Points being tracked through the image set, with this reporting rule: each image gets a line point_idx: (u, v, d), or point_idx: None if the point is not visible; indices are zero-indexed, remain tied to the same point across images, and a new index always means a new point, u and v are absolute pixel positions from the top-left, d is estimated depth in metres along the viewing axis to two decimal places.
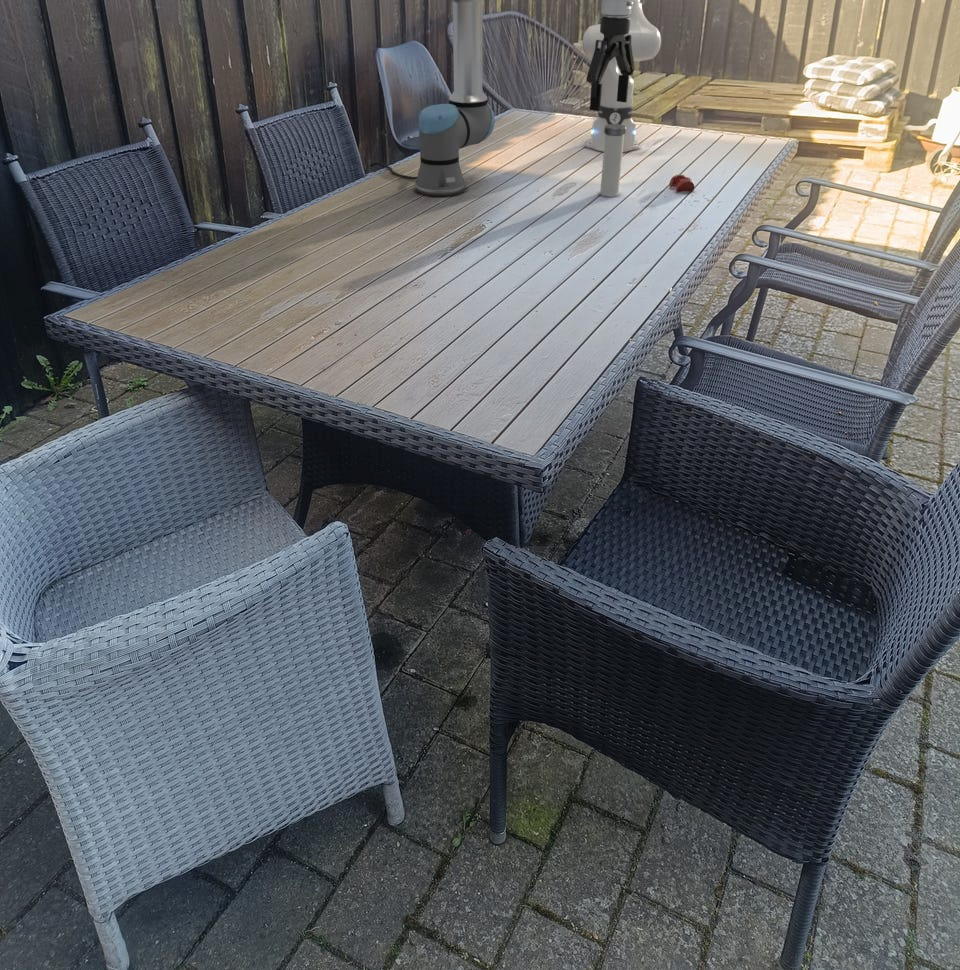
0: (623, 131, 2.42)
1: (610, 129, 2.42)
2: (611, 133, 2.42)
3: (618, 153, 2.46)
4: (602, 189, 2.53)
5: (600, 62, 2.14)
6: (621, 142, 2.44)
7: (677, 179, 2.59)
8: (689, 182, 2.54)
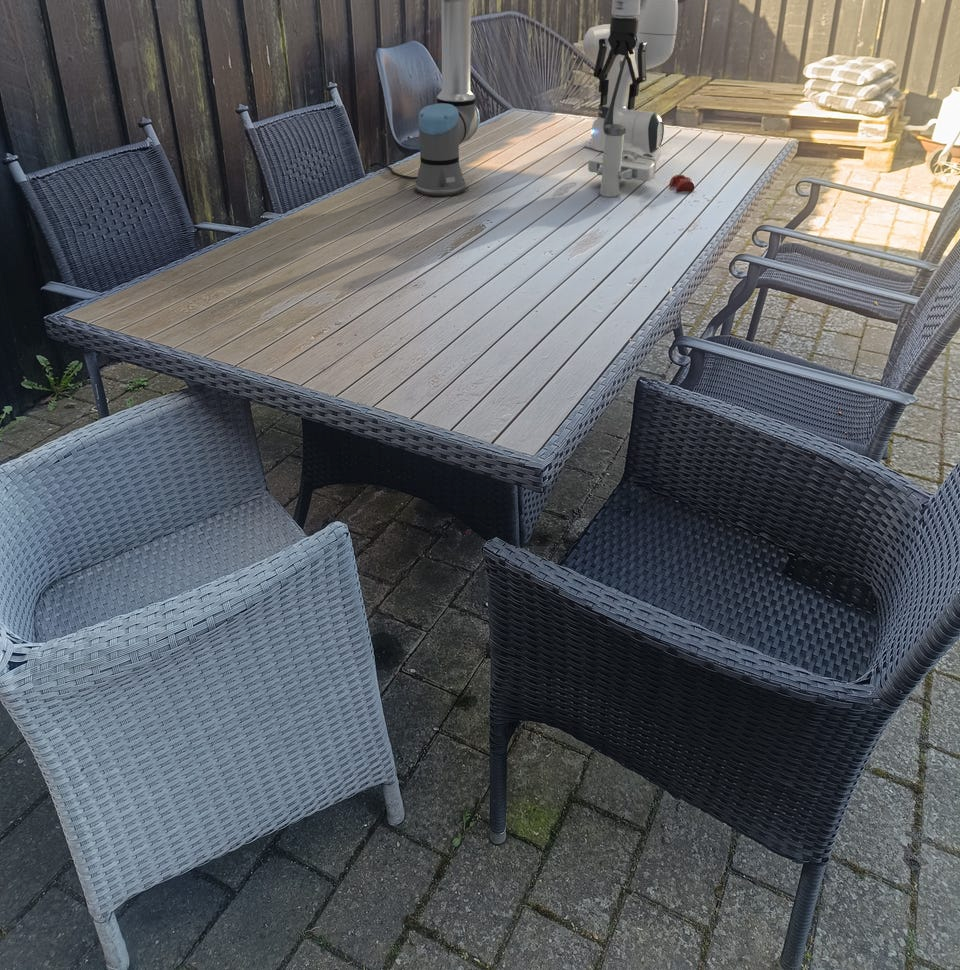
0: (623, 131, 2.42)
1: (610, 129, 2.42)
2: (611, 133, 2.42)
3: (618, 153, 2.46)
4: (602, 189, 2.53)
5: (598, 58, 2.36)
6: (621, 142, 2.44)
7: (677, 179, 2.59)
8: (689, 182, 2.54)
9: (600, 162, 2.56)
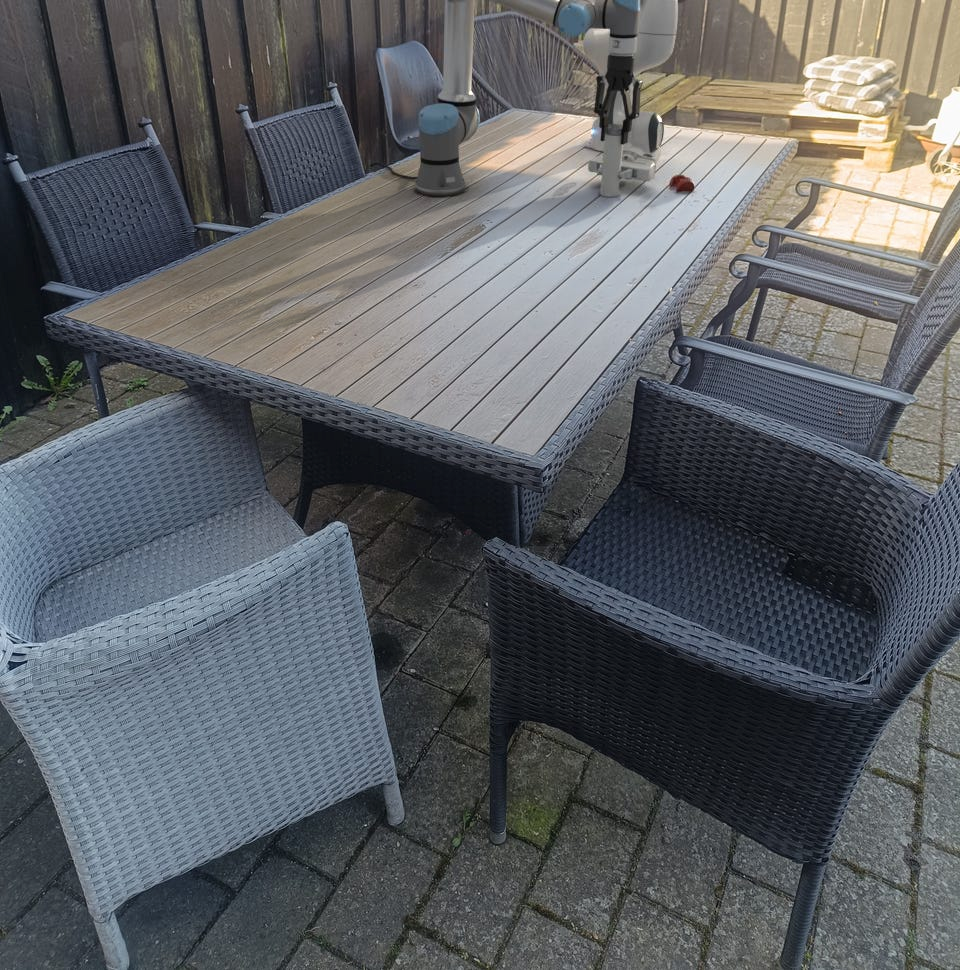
0: None
1: (610, 129, 2.42)
2: (611, 133, 2.42)
3: (618, 153, 2.46)
4: (602, 189, 2.53)
5: (597, 95, 2.41)
6: None
7: (677, 179, 2.59)
8: (689, 182, 2.54)
9: (600, 162, 2.56)
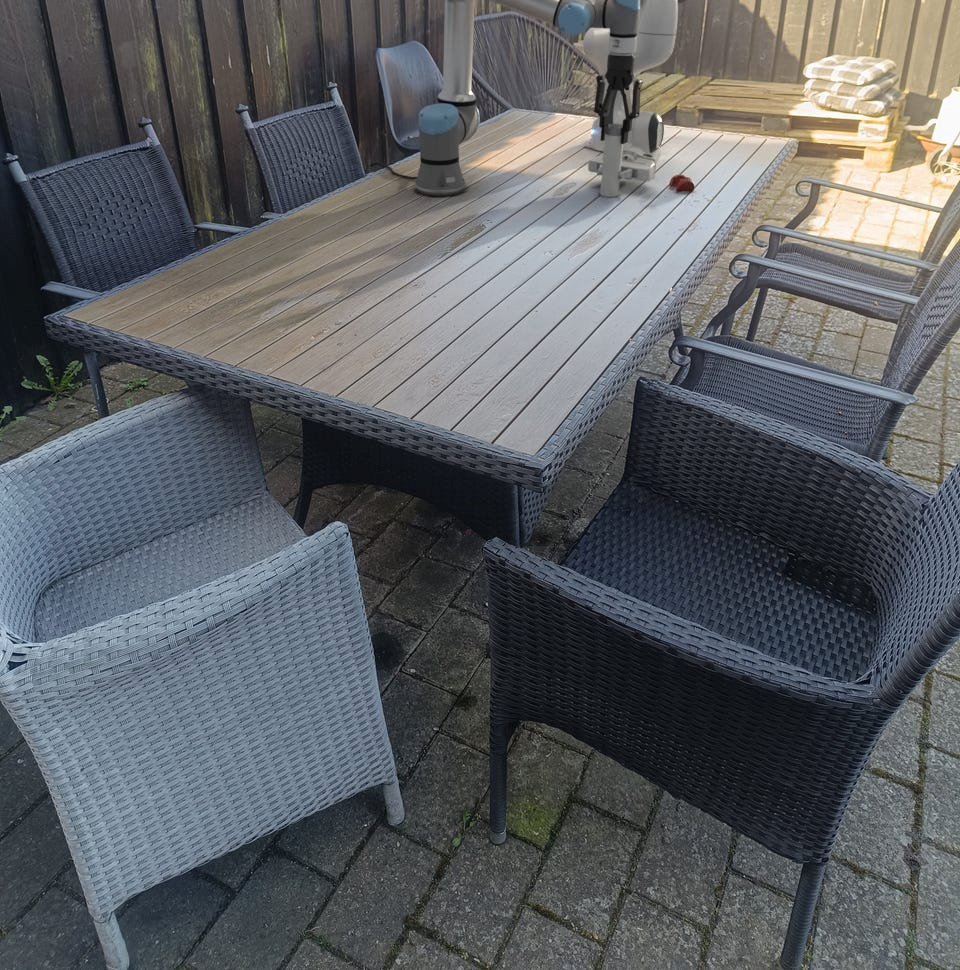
0: None
1: None
2: None
3: (618, 153, 2.46)
4: (602, 189, 2.53)
5: (597, 95, 2.41)
6: None
7: (677, 179, 2.59)
8: (689, 182, 2.54)
9: (600, 162, 2.56)
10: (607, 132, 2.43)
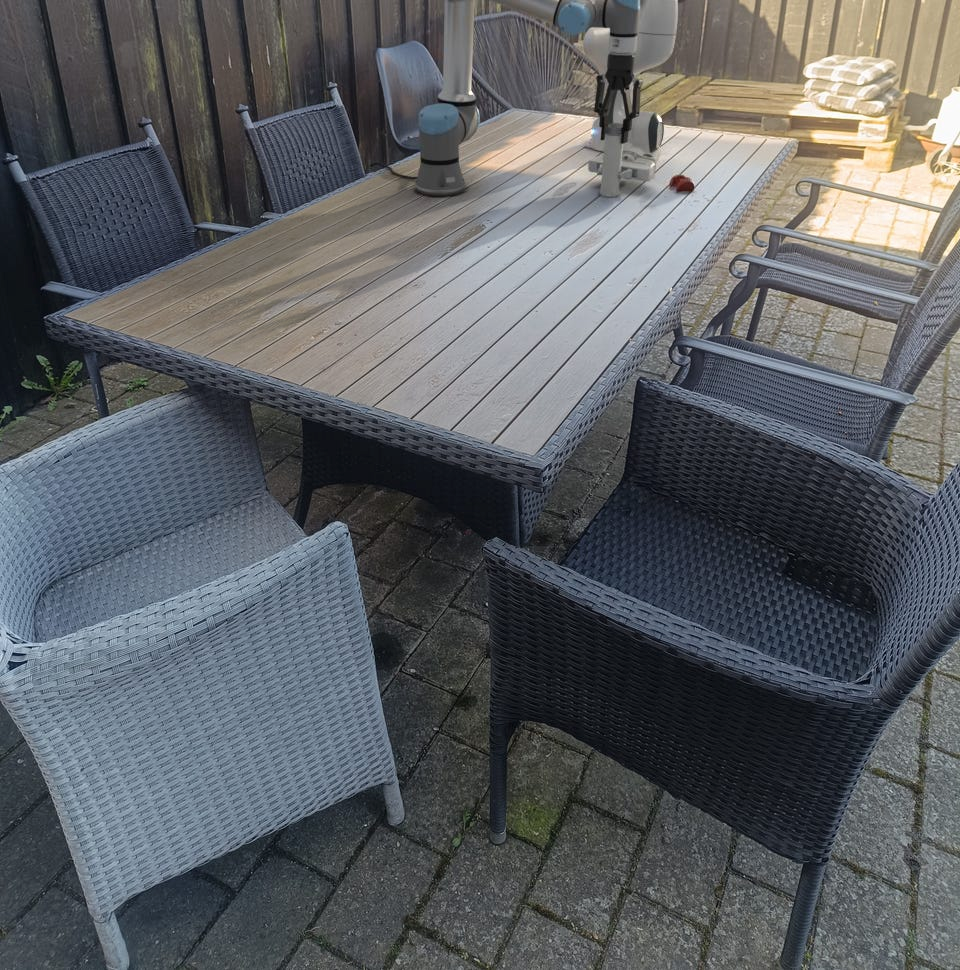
0: None
1: None
2: None
3: (618, 153, 2.46)
4: (602, 189, 2.53)
5: (597, 94, 2.41)
6: None
7: (677, 179, 2.59)
8: (689, 182, 2.54)
9: (600, 162, 2.56)
10: None
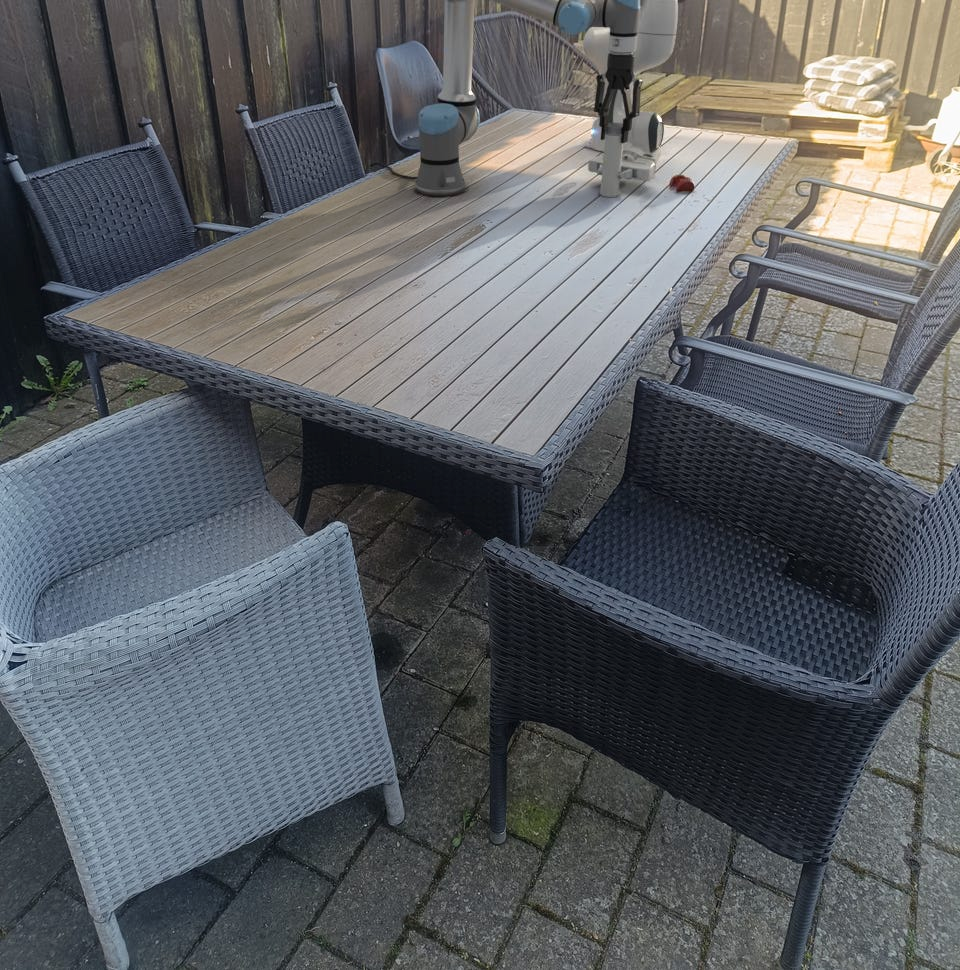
0: (610, 130, 2.42)
1: None
2: (604, 129, 2.45)
3: (618, 153, 2.46)
4: (602, 189, 2.53)
5: (597, 94, 2.41)
6: None
7: (677, 179, 2.59)
8: (689, 182, 2.54)
9: (600, 162, 2.56)
10: None
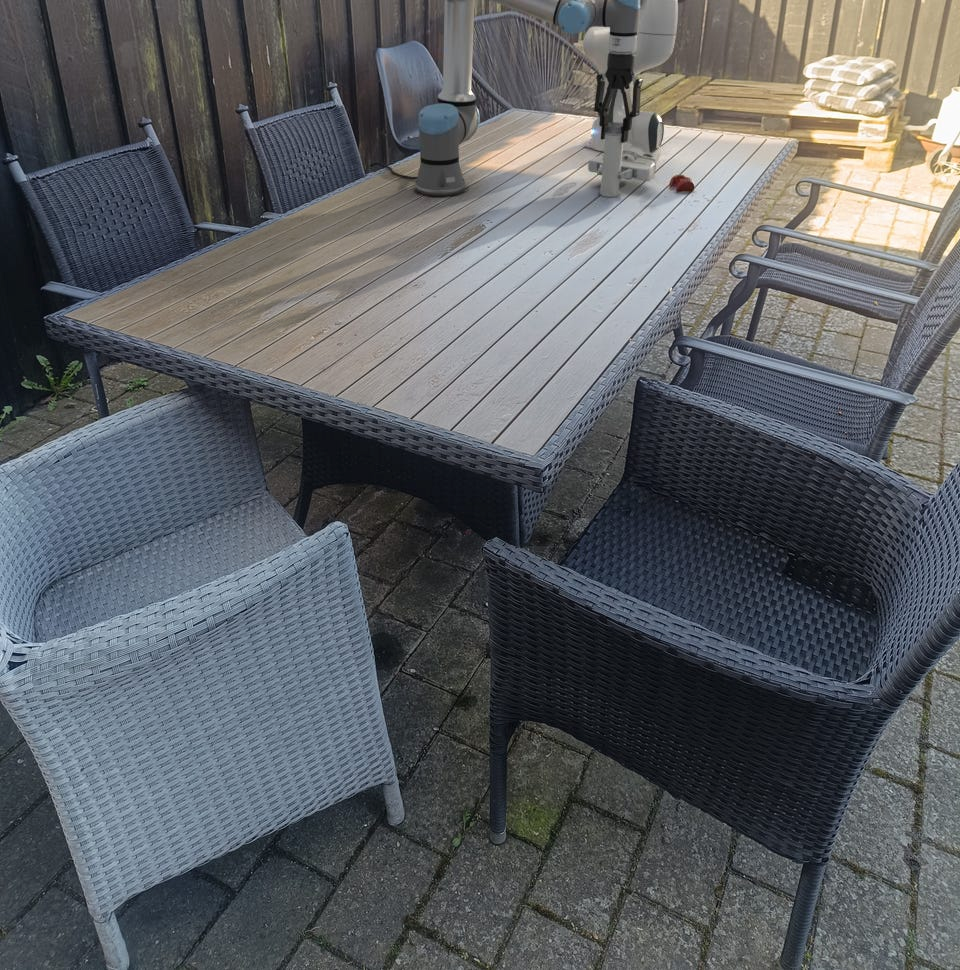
0: None
1: (612, 128, 2.41)
2: (614, 131, 2.42)
3: (618, 153, 2.46)
4: (602, 189, 2.53)
5: (597, 93, 2.41)
6: None
7: (677, 179, 2.59)
8: (689, 182, 2.54)
9: (600, 162, 2.56)
10: None
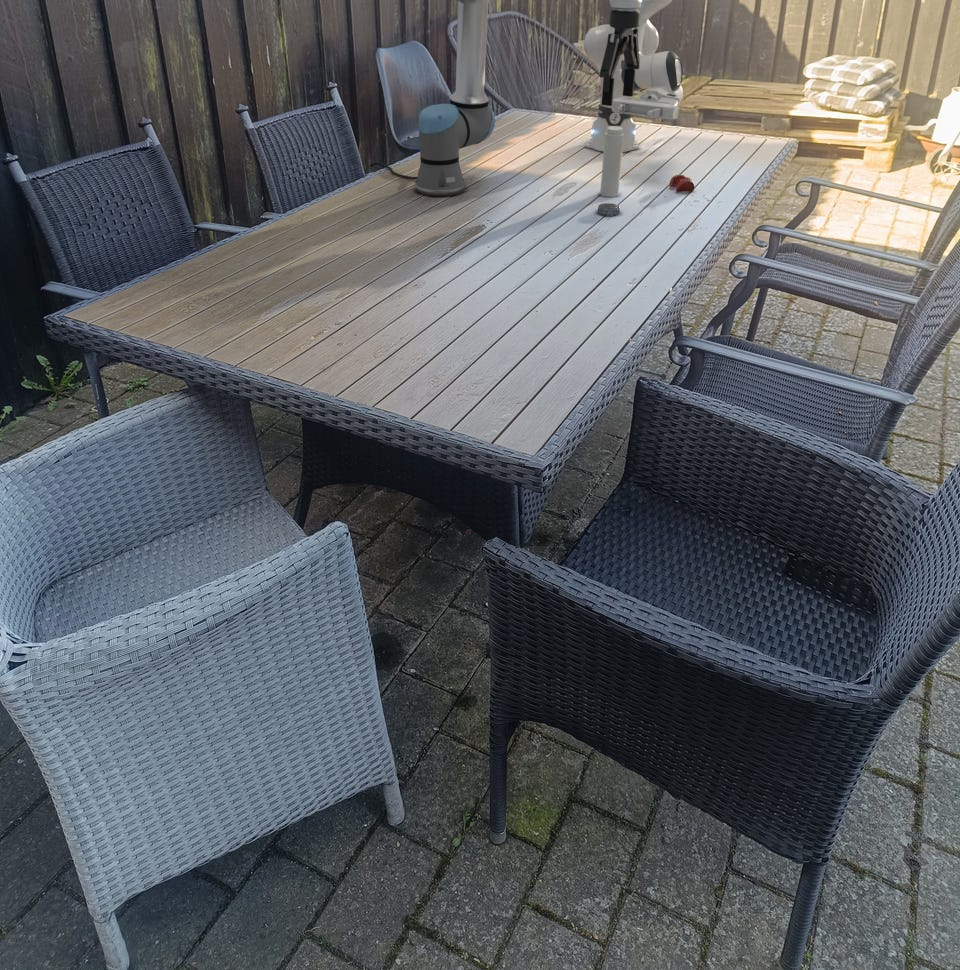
0: None
1: (619, 208, 2.39)
2: None
3: (618, 153, 2.46)
4: (602, 189, 2.53)
5: (613, 56, 2.11)
6: (621, 142, 2.44)
7: (677, 179, 2.59)
8: (689, 182, 2.54)
9: (624, 102, 2.56)
10: (602, 213, 2.39)
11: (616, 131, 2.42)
